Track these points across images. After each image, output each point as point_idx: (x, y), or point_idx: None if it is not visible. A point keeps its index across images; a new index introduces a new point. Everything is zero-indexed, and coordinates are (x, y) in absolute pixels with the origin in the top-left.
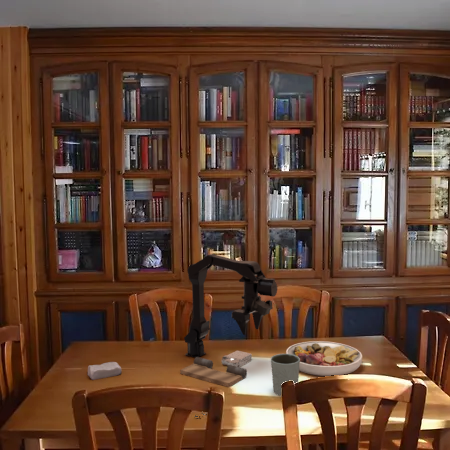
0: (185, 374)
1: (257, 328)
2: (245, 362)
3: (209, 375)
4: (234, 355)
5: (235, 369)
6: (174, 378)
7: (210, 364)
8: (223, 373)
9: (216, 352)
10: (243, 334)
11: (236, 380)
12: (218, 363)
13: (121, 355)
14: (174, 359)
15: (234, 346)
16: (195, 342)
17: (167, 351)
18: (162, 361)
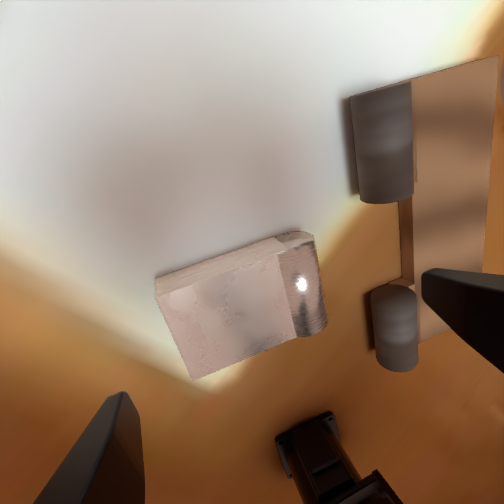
0: None
1: (125, 402)
2: (218, 259)
3: (469, 202)
4: (258, 323)
5: (411, 136)
6: None
7: (393, 297)
8: (424, 180)
9: (227, 438)
10: (434, 289)
11: (437, 72)
12: None
13: (444, 496)
14: (385, 427)
15: None
16: (371, 478)
17: None
18: (418, 424)
